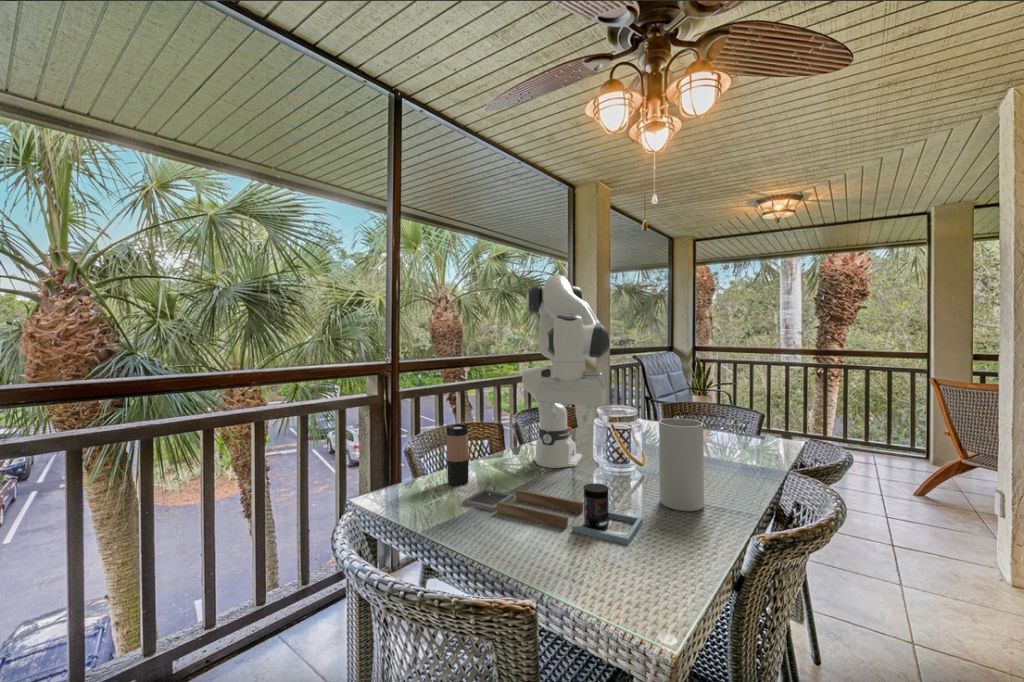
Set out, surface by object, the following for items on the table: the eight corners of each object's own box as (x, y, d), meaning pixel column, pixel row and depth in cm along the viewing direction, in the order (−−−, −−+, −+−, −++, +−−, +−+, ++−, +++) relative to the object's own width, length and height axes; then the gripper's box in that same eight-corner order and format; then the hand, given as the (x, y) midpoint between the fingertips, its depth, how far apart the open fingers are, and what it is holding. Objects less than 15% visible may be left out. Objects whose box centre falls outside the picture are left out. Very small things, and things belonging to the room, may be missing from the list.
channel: (517, 498, 139) (517, 489, 139) (583, 512, 128) (582, 502, 128) (497, 512, 128) (496, 502, 128) (566, 528, 117) (565, 517, 117)
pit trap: (484, 492, 145) (484, 488, 145) (514, 498, 139) (514, 494, 139) (462, 504, 135) (462, 500, 135) (494, 511, 129) (493, 507, 129)
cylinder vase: (708, 514, 125) (707, 427, 125) (662, 511, 128) (662, 426, 127) (698, 497, 137) (698, 418, 137) (657, 495, 140) (656, 417, 139)
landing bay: (590, 512, 127) (590, 507, 127) (642, 523, 120) (642, 517, 120) (571, 531, 115) (571, 526, 115) (628, 544, 108) (628, 538, 108)
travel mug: (467, 486, 150) (466, 429, 150) (445, 486, 151) (444, 429, 150) (470, 479, 158) (469, 424, 158) (449, 479, 158) (448, 424, 158)
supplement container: (597, 518, 123) (597, 481, 123) (614, 527, 118) (614, 488, 117) (578, 523, 120) (578, 486, 120) (595, 533, 114) (594, 493, 114)
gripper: (608, 371, 121) (609, 420, 122) (542, 368, 131) (543, 414, 132) (601, 373, 116) (602, 425, 116) (532, 371, 126) (533, 418, 126)
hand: (570, 419), depth 124 cm, fingers open, 8 cm apart
